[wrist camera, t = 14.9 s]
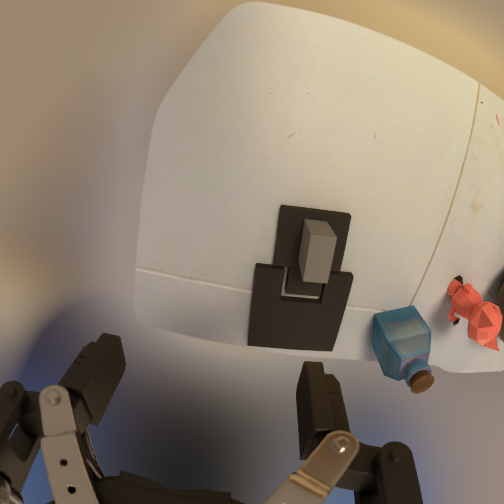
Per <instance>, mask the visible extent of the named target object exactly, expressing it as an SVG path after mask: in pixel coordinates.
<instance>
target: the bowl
mask: <svg viewBox="0 0 504 504" xmlns="http://www.w3.org/2000/svg"><path fill="white" fill-rule="evenodd" d="M497 303H499V309H500V311H501V314H502V325H501V329H500V332H499V334H498V335H499V337H500V338H501V340H502V341H503V342H504V282H503V284H502V286H501V288H500V291H499V294H498V297H497V300H496V304H497Z"/></svg>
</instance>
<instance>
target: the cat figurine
mask: <svg viewBox="0 0 504 504" xmlns="http://www.w3.org/2000/svg"><path fill="white" fill-rule="evenodd" d="M462 286H463V279H462V277H461V276H460V275H459V276H457V277H455V278H454V279H453V281H452V282H451V284H450V286H449V288H448V291H447V294H448V295H453V296H452V298H451V302H452V307H453V308H452V309H451V310H450V312H449V320H450V321H452V322H453V324H454V326H455V325H456V324H457V323H458V322H459V320H460V318H458V317H455V316H454V312H455V311H456V312H457V314H459V315H460V316H462V317H463V318H465V319H468V320H469V321H468V337H469V338H470V339H472V340H473V341H475V342H476V343H479V344H481V345H484V346H486V347H489V348H492V349H494V350H497V351H499V348H498V345H497V342H496V336H497V335H498V334H499V332H500V329H501V325H502V314H501V311H500V309H499V303H497V304H496V303H491V302H487V301H484V302H483V300H482V297H481V295H480V293H478V292H477V291H476V290H475V289H474V288H473V287H472V285H471V284H469V283H467V284H466V285H464V286H463V287H462ZM489 295H490V294H489ZM492 299H493V298H492Z"/></svg>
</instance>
